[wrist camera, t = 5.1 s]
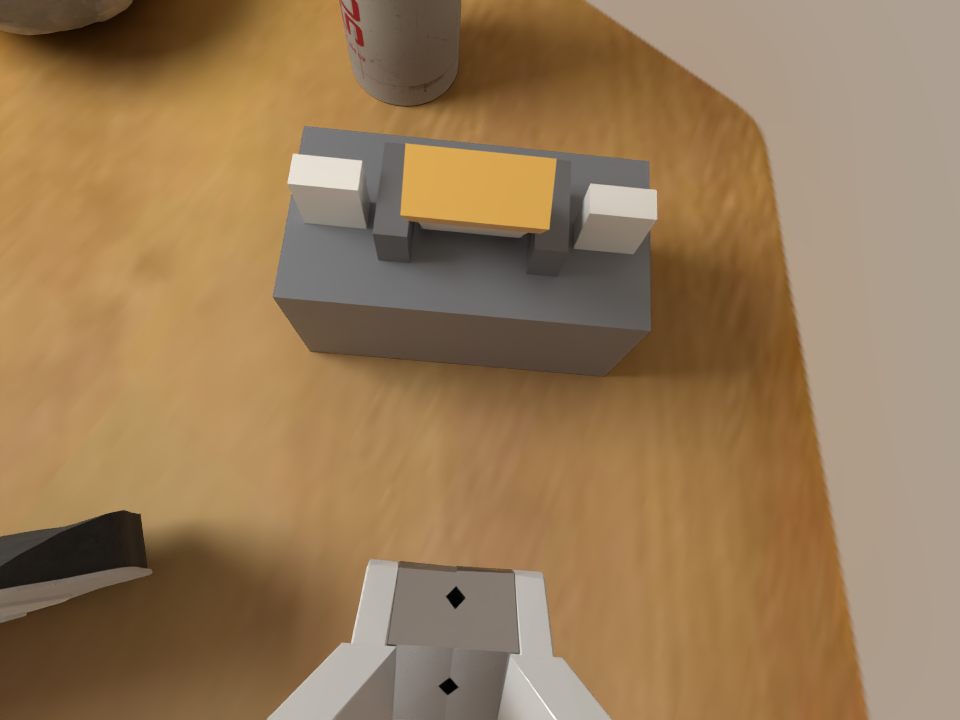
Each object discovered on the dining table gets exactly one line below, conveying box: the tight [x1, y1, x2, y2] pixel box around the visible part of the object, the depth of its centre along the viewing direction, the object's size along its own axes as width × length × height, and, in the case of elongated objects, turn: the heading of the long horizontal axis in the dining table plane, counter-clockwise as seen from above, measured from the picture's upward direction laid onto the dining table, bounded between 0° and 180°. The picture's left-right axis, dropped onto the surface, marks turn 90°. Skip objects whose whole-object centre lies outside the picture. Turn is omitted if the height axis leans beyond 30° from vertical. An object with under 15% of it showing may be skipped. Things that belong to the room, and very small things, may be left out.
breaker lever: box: [400, 143, 557, 238], centre depth 26 cm, size 2×5×11 cm, turn 85°
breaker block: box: [273, 126, 657, 377], centre depth 34 cm, size 10×19×13 cm, turn 86°
